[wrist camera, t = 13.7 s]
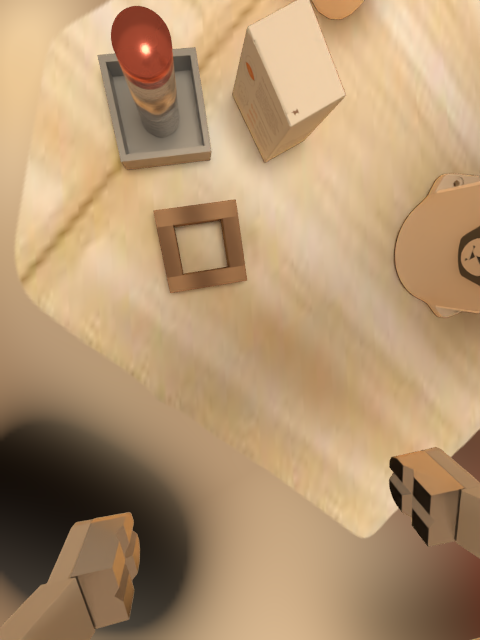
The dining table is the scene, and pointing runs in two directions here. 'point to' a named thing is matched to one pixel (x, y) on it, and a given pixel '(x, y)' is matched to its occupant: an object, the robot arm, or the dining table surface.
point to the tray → (130, 131)
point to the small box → (285, 79)
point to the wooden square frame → (196, 215)
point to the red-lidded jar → (148, 67)
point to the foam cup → (336, 7)
